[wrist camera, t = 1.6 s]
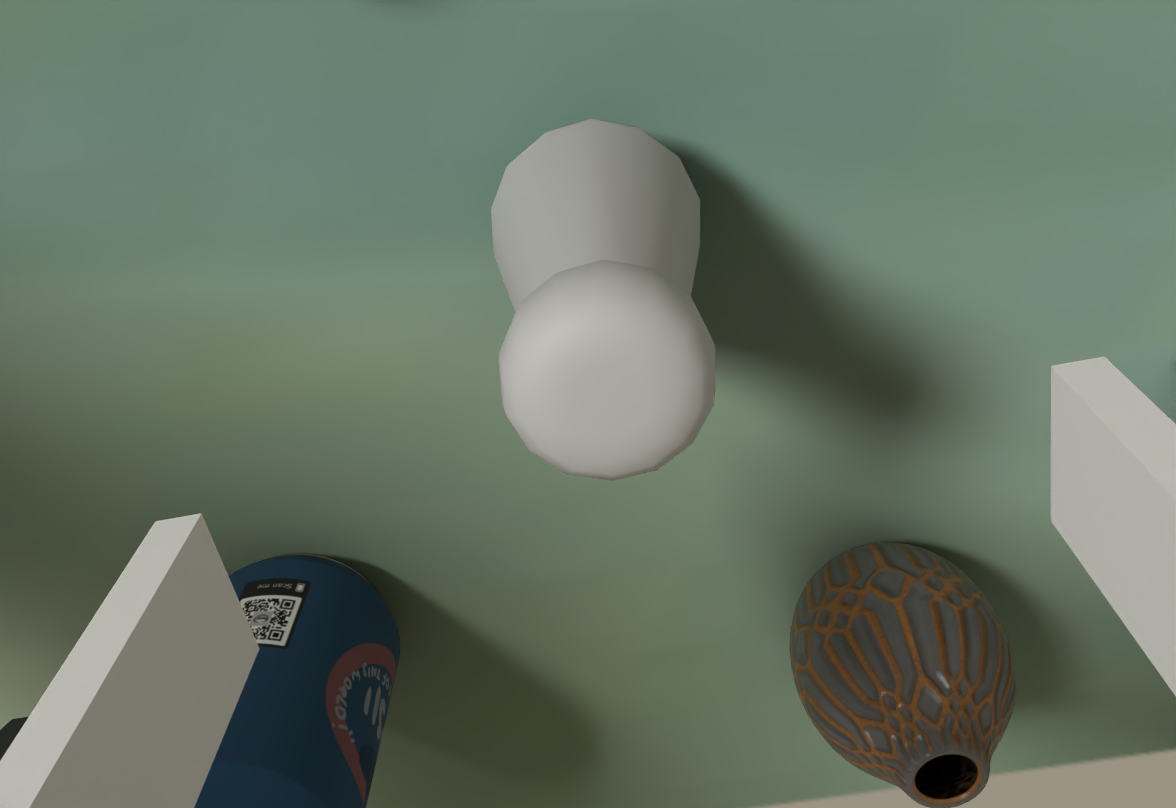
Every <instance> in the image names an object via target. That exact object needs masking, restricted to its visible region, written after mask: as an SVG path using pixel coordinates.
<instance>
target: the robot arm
mask: <svg viewBox="0 0 1176 808" xmlns="http://www.w3.org/2000/svg"><path fill="white" fill-rule="evenodd" d="M1051 522H1052V523H1053V524H1054V526H1055V527H1056V529H1057V530H1058V531H1059V533H1060V534H1061V536H1062V537H1063V539H1064V540H1065V541H1066V543H1067V544H1068V546H1069V547H1070V548H1071V550H1072V551H1073V553H1074V554H1075V555H1076V557H1077V558H1078V560H1079V561H1080V562H1081V564H1082V565H1083V567H1084V568H1085V569H1086V571H1087V572H1088V574H1089V575H1090V577H1091V578H1092V579H1093V581H1094V582H1095V584H1096V585H1097V586H1098V588H1099V589H1100V591H1101V592H1102V593H1103V595H1104V596H1105V598H1106V599H1107V600H1108V602H1109V603H1110V605H1111V606H1112V607H1113V609H1114V610H1115V612H1116V613H1117V615H1118V616H1119V617H1120V619H1121V620H1122V622H1123V623H1124V624H1125V626H1126V627H1127V629H1128V630H1129V631H1130V633H1131V634H1132V636H1133V637H1134V638H1135V640H1136V641H1137V643H1138V644H1139V645H1140V647H1141V648H1142V650H1143V651H1144V652H1145V654H1146V655H1147V657H1148V658H1149V660H1150V661H1151V662H1152V664H1153V665H1154V667H1155V668H1156V669H1157V671H1158V672H1159V674H1160V675H1161V676H1162V678H1163V679H1164V681H1165V682H1166V683H1167V685H1168V686H1169V688H1170V689H1171V690H1172V692H1173V693H1174V695H1175V696H1176V424H1175V423H1174V422H1173V421H1172V420H1171V419H1170V418H1169V417H1167V416H1166V415H1165V414H1164V413H1163V412H1162V411H1161V410H1160V409H1159V408H1158V407H1157V406H1156V405H1155V404H1154V403H1153V402H1152V401H1151V400H1150V399H1148V398H1147V397H1146V396H1145V395H1144V394H1143V393H1142V392H1141V391H1140V390H1139V389H1138V388H1137V387H1136V386H1135V385H1134V384H1133V383H1132V382H1131V381H1130V380H1128V379H1127V378H1126V377H1125V376H1124V375H1123V374H1122V373H1121V372H1120V371H1119V370H1118V369H1117V368H1116V367H1115V366H1114V365H1113V364H1112V363H1111V362H1109V361H1108V360H1107V359H1106V358H1105V357H1099V358H1094V359H1088V360H1082V361H1076V362H1071V363H1065V364H1059V365H1053V366H1051ZM258 651H259V646H258V644H257V642H256V639H255V637H254V635H253V632H252V630H251V628H250V625H249V623H248V621H247V618H246V616H245V614H244V611H243V609H242V607H241V604H240V602H239V600H238V597H237V595H236V593H235V590H234V588H233V586H232V583H231V581H230V579H229V576H228V574H227V572H226V569H225V567H224V565H223V562H222V560H221V558H220V555H219V553H218V551H217V548H216V546H215V544H214V541H213V539H212V537H211V534H210V532H209V530H208V527H207V525H206V523H205V520H204V518H203V515H202V513H200V514H195V515H189V516H183V517H177V518H172V519H166V520H160V521H155V523H154V524H153V526H152V527H151V529H150V530H149V532H148V534H147V535H146V537H145V538H144V540H143V541H142V543H141V544H140V546H139V547H138V549H137V551H136V552H135V554H134V555H133V557H132V558H131V560H130V561H129V563H128V564H127V566H126V567H125V569H124V571H123V572H122V574H121V575H120V577H119V578H118V580H117V581H116V583H115V584H114V586H113V588H112V589H111V591H110V592H109V594H108V595H107V597H106V598H105V600H104V601H103V603H102V605H101V606H100V608H99V609H98V611H97V612H96V614H95V615H94V617H93V618H92V620H91V622H90V623H89V625H88V626H87V628H86V629H85V631H84V632H83V634H82V635H81V637H80V639H79V640H78V642H77V643H76V645H75V646H74V648H73V649H72V651H71V652H70V654H69V656H68V657H67V659H66V660H65V662H64V663H63V665H62V666H61V668H60V669H59V671H58V673H57V674H56V676H55V677H54V679H53V680H52V682H51V683H50V685H49V686H48V688H47V690H46V691H45V693H44V694H43V696H42V697H41V699H40V700H39V702H38V703H37V705H36V706H35V708H34V710H33V711H32V713H31V714H30V716H29V717H24V718H17V719H12V720H11V721H10V722H9V723H8V724H6V725H5V726H4V727H3V728H2V729H1V730H0V808H194V807H195V804H196V802H197V800H198V797H199V795H200V792H201V790H202V787H203V785H204V782H205V780H206V778H207V775H208V773H209V770H210V768H211V765H212V763H213V761H214V758H215V756H216V753H217V751H218V748H219V746H220V744H221V741H222V739H223V736H224V734H225V731H226V729H227V726H228V724H229V722H230V719H231V717H232V714H233V712H234V709H235V707H236V705H237V702H238V700H239V697H240V695H241V692H242V690H243V687H244V685H245V683H246V680H247V678H248V675H249V673H250V670H251V668H252V666H253V663H254V661H255V658H256V656H257V653H258Z"/></svg>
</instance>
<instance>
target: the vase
mask: <svg viewBox="0 0 1176 808" xmlns="http://www.w3.org/2000/svg"><path fill="white" fill-rule="evenodd" d="M790 658H791V665H792V671H793V675H794V680H795V684H796V687H797V690H798V693H799V696H800V699H801V701H802V704H803V706H804V708H805V710H806V712H807V714H808V715H809V717H810V719H811V720H812V722H813V724H814V725H815V727H816V728H817V729H818V731H819V732H820V734H821V735H822V736H823V737H824V739H825V740H826V741H827V742H828V743H829V744H830V746H831V747H832V748H833V749H834V750H835V751H836V752H837V753H839V754H840V755H841V756H842V757H843V758H844V759H845V760H847V761H848V762H849V763H851V764H852V765H854V766H855V767H857V768H858V769H860V770H862V771H864V772H866V773H868V774H870V775H872V776H874V777H877V778H879V779H881V780H884V781H886V782H888V783H891V784H894V785H896V786H898V787H900V788H901V789H902V790H903V791H904V792H905V793H906V794H907V795H908V796H910V797H911V798H912V799H913V800H914V801H916V802H917V803H919V804H921V805H924V806H927V807H930V808H951V807H956V806H959V805H962V804H964V803H966V802H968V801H970V800H972V799H973V798H975V797H976V796H977V795H978V794H979V793H980V792H981V791H982V790H983V789H984V787H985V785H986V784H987V781H988V778H989V772H990V760H991V756H992V754H993V752H994V751H995V749H996V747H997V745H998V743H999V742H1000V740H1001V738H1002V736H1003V734H1004V732H1005V730H1006V727H1007V725H1008V723H1009V720H1010V717H1011V714H1012V710H1013V706H1014V698H1015V670H1014V662H1013V656H1012V651H1011V647H1010V644H1009V640H1008V637H1007V634H1006V631H1005V629H1004V627H1003V625H1002V623H1001V621H1000V619H999V617H998V615H997V613H996V611H995V610H994V608H993V606H992V605H991V603H990V602H989V600H988V599H987V597H986V596H985V595H984V593H983V592H982V591H981V589H980V588H979V587H978V586H977V585H976V583H975V582H974V581H973V580H971V579H970V578H969V577H968V576H967V575H966V574H965V573H964V572H963V571H962V570H960V569H959V568H958V567H957V566H955V565H954V564H952V563H951V562H949V561H948V560H946V559H945V558H943V557H941V556H939V555H937V554H935V553H933V552H931V551H929V550H927V549H924V548H921V547H918V546H914V545H909V544H903V543H874V544H868V545H863V546H860V547H856V548H853V549H851V550H848V551H846V552H844V553H842V554H840V555H838V556H837V557H835V558H834V559H832V560H831V561H829V562H828V563H827V564H825V565H824V566H823V567H822V568H821V569H820V570H819V571H818V572H817V573H816V574H815V575H814V576H813V577H812V578H811V579H810V581H809V582H808V583H807V585H806V586H805V588H804V590H803V592H802V594H801V596H800V598H799V601H798V603H797V605H796V608H795V611H794V615H793V620H792V625H791V632H790Z"/></svg>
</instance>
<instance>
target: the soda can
mask: <svg viewBox="0 0 1176 808" xmlns="http://www.w3.org/2000/svg"><path fill="white" fill-rule="evenodd" d="M229 579H230V581H231V583H232V586H233V588H234V590H235V593H236V595H237V597H238V600H239V602H240V604H241V607H242V609H243V611H244V614H245V616H246V618H247V621H248V623H249V625H250V628H251V630H252V632H253V635H254V637H255V639H256V642H257V644H258V646H259V651H258V653H257V656H256V658H255V661H254V663H253V666H252V668H251V670H250V673H249V675H248V678H247V680H246V683H245V685H244V687H243V690H242V692H241V695H240V697H239V700H238V702H237V705H236V707H235V709H234V712H233V714H232V717H231V719H230V722H229V724H228V726H227V729H226V731H225V734H224V736H223V739H222V741H221V744H220V746H219V748H218V751H217V753H216V756H215V758H214V761H213V763H212V765H211V768H210V770H209V773H208V775H207V778H206V780H205V782H204V785H203V787H202V790H201V792H200V795H199V797H198V800H197V802H196V804H195V807H194V808H366V805H367V800H368V796H369V791H370V787H371V782H372V778H373V773H374V769H375V764H376V760H377V755H378V751H379V746H380V742H381V737H382V733H383V728H384V724H385V719H386V715H387V710H388V706H389V701H390V697H391V692H392V688H393V683H394V678H395V674H396V669H397V665H398V660H399V654H400V639H399V633H398V629H397V626H396V623H395V620H394V618H393V616H392V613H391V611H390V610H389V608H388V606H387V605H386V603H385V602H384V600H383V599H382V597H381V596H380V595H379V594H378V592H377V591H376V590H375V589H374V587H373V586H372V585H371V584H370V583H369V582H368V581H367V580H366V579H365V578H364V577H363V576H362V575H361V574H359V573H358V572H357V571H355V570H354V569H352V568H351V567H349V566H347V565H345V564H343V563H341V562H339V561H337V560H334V559H331V558H328V557H324V556H319V555H314V554H286V555H281V556H277V557H273V558H269V559H265V560H262V561H259V562H256V563H253V564H251V565H248V566H246V567H244V568H242V569H240V570H238V571H236V572H235V573H233V574H231V575H230V576H229Z"/></svg>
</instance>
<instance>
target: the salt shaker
mask: <svg viewBox="0 0 1176 808" xmlns="http://www.w3.org/2000/svg"><path fill="white" fill-rule="evenodd" d="M491 216H492V232H493V248H494V256H495V259H496V262H497V264H498V267H499V270H500V272H501V275H502V278H503V281H504V283H505V286H506V289H507V291H508V294H509V297H510V299H511V302H512V305H513V307H514V310H515V315H514V318H513V320H512V322H511V325H510V327H509V330H508V332H507V335H506V337H505V339H504V342H503V345H502V348H501V351H500V354H499V367H500V380H501V393H502V402H503V406H504V410H505V414H506V416H507V417H508V419H509V420H510V422H511V423H512V425H513V426H514V428H515V429H516V431H517V432H518V434H519V435H520V437H521V438H522V440H523V441H524V443H525V444H526V446H527V447H528V449H529V450H530V451H531V452H533V453H535V454H536V455H538V456H539V457H541V458H542V459H544V460H546V461H547V462H549V463H550V464H552V465H554V466H555V467H557V468H558V469H560V470H561V471H563V472H565V473H566V474H570V475H577V476H584V477H592V478H599V479H606V480H616V479H621V478H625V477H629V476H634V475H638V474H642V473H647V472H651V471H655V470H658V469H659V468H660V467H662V466H663V465H664V464H666V463H667V462H668V461H670V460H671V459H672V458H674V457H675V456H676V455H678V454H679V453H680V452H681V451H683V450H684V449H685V448H687V447H688V446H689V445H691V444H692V443H693V441H694V440H695V438H696V436H697V434H698V432H699V431H700V429H701V427H702V425H703V423H704V422H705V420H706V418H707V416H708V414H709V413H710V411H711V409H712V407H713V405H714V398H715V345H714V342H713V340H712V338H711V335H710V333H709V331H708V329H707V327H706V325H705V323H704V321H703V319H702V317H701V315H700V314H699V312H698V310H697V308H696V306H695V304H694V302H693V300H692V298H691V293H692V287H693V282H694V276H695V271H696V265H697V260H698V254H699V249H700V198H699V196H698V194H697V192H696V190H695V188H694V186H693V184H692V182H691V180H690V178H689V176H688V174H687V172H686V170H685V168H684V166H683V164H682V162H681V160H680V158H679V157H678V156H677V155H676V154H674V153H673V152H671V151H670V150H669V149H667V148H666V147H665V146H663V145H662V144H661V143H659V142H658V141H656V140H655V139H654V138H652V137H651V136H650V135H648V134H647V133H645V132H644V131H643V130H641V129H640V128H639V127H634V126H629V125H624V124H618V123H613V122H608V121H603V120H598V119H593V118H591V119H588V120H584V121H581V122H578V123H574V124H571V125H568V126H564V127H561V128H558V129H554V130H551V131H548V132H546V133H545V134H543V135H542V136H541V137H540V138H539V139H538V140H536V141H535V142H534V143H533V144H532V145H531V146H529V147H528V148H527V149H526V150H525V151H524V152H522V153H521V154H520V155H519V156H518V157H517V158H515V159H514V160H513V161H512V162H511V163H510V164H508V165H507V168H506V170H505V173H504V176H503V178H502V181H501V184H500V187H499V189H498V192H497V195H496V197H495V200H494V203H493V206H492V208H491Z"/></svg>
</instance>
